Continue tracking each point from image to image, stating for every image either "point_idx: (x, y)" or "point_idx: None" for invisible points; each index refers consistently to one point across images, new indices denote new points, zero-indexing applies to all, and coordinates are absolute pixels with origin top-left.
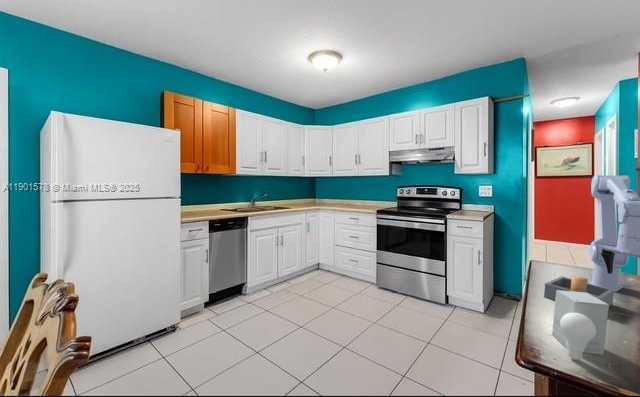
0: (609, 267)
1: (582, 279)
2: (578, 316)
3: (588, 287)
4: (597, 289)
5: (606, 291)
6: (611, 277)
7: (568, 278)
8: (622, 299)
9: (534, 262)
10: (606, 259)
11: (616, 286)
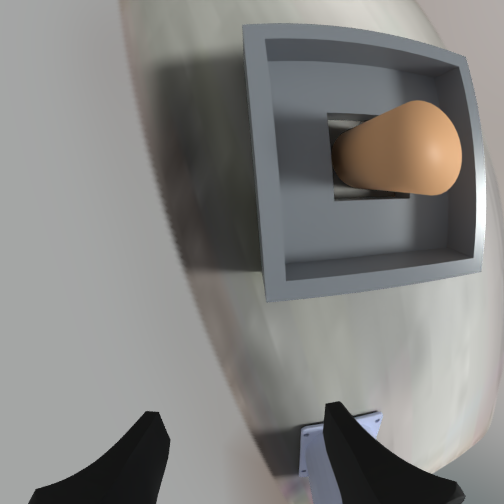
0: (346, 432)
1: (410, 129)
2: None
3: (373, 265)
4: (335, 269)
5: (280, 220)
6: (329, 468)
7: (460, 269)
8: (263, 379)
9: (489, 425)
10: (397, 475)
11: (308, 453)
